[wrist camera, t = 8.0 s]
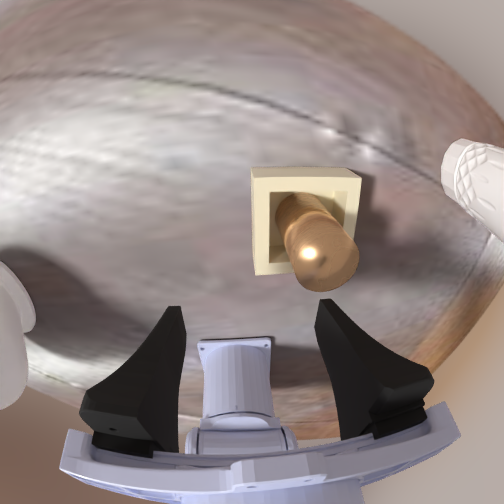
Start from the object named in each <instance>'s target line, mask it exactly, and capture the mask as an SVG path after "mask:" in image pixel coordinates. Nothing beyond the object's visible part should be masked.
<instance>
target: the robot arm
mask: <svg viewBox="0 0 504 504" xmlns="http://www.w3.org/2000/svg"><path fill="white" fill-rule="evenodd" d="M314 328H315V332H316V337H317V342H318V345H319V348H320V351H321V354H322V356H323V359H324V362H325V365H326V367H327V370H328V373H329V376H330V379H331V383H332V387H333V392H334V396H335V402H336V407H337V413H338V420H339V427H340V436H341V441H338V442H334V443H329V444H324V445H319V446H314V447H307V448H301V449H299V448H298V443H297V439H296V436H295V434H294V432H293V431H291V430H290V429H289V428H288V427H287V426H281V425H280V418H279V417H275V414H274V407H273V400H272V393H271V386H270V379H269V378H270V357H271V339H270V338H268V337H265V338H251V339H234V340H210V341H199V342H198V343H197V347H198V351H199V355H200V359H201V362H202V366H203V370H204V373H205V374H204V398H203V418H202V419H200V428H198V427H193V428H192V430H191V431H190V432H188V434H187V438H186V445H185V454H184V453H183V454H182V453H179V447H178V396H179V385H180V379H181V373H182V368H183V362H184V356H185V351H186V334H187V333H186V329H185V325H184V320H183V316H182V311H181V307H180V306H169V307H168V308H167V309H166V311H165V312H164V314H163V315H162V317H161V319H160V320H159V322H158V323H157V325H156V326H155V327H154V329H153V330H152V332H151V333H150V334H149V336H148V337H147V338H146V340H145V341H144V342H143V343H142V345H141V346H140V347H139V348H138V349H137V351H136V352H135V353H134V354H133V355H132V356H131V357H130V358H129V359H128V360H127V361H126V362H125V363H124V364H123V365H122V366H121V367H120V368H118V369H117V370H116V371H115V372H114V373H112V374H111V375H110V376H108V377H107V378H106V379H104V380H103V381H101V382H100V383H98V384H96V385H95V386H93V387H92V388H90V389H88V390H87V391H86V393H85V395H84V398H83V401H82V404H81V408H80V411H79V414H80V417H81V418H82V419H83V421H85V422H86V423H87V424H88V425H89V426H90V427H91V428H92V429H93V430H94V434H93V436H92V435H90V434H88V433H84V432H81V431H77V430H74V429H69V430H68V433H67V438H66V441H65V445H64V449H63V453H62V458H61V463H60V467H59V468H60V470H62V471H64V472H65V473H67V474H69V475H71V476H72V477H74V478H76V479H78V480H80V481H82V482H84V483H86V484H90V485H93V486H96V487H99V488H103V489H106V490H110V491H113V492H117V493H121V494H125V495H129V496H133V497H137V498H142V499H147V500H152V501H158V502H163V503H170V504H365V503H364V499H363V495H362V491H361V487H362V486H365V485H368V484H370V483H373V482H376V481H379V480H381V479H384V478H386V477H389V476H391V475H394V474H396V473H398V472H401V471H403V470H405V469H407V468H410V467H412V466H414V465H416V464H418V463H420V462H422V461H424V460H427V459H429V458H430V457H433V456H435V455H436V454H438V453H439V452H441V451H442V450H444V449H445V448H446V447H448V446H449V445H450V444H452V443H453V442H454V441H456V440H457V439H458V438H460V437H461V434H460V432H459V429H458V427H457V425H456V423H455V421H454V419H453V417H452V415H451V412H450V410H449V408H448V406H447V404H446V402H441V403H439V404H437V405H434V406H432V407H430V408H428V409H427V410H424V408H423V406H424V405H425V402H424V400H423V398H424V397H425V396H426V395H427V393H428V392H429V391H430V390H431V388H432V387H433V384H434V379H433V377H432V375H431V373H430V371H429V370H428V368H427V367H425V366H423V365H420V364H417V363H415V362H412V361H410V360H408V359H406V358H404V357H402V356H400V355H398V354H396V353H394V352H393V351H391V350H389V349H388V348H386V347H384V346H383V345H381V344H380V343H379V342H377V341H376V340H375V339H373V338H372V337H371V336H369V335H368V334H367V333H366V332H365V331H363V330H362V329H361V328H360V327H359V326H358V325H357V324H356V323H354V322H353V321H352V320H351V319H350V318H349V317H348V316H347V315H346V314H345V313H344V312H343V311H342V310H341V309H340V308H339V306H338V305H337V304H336V303H335V302H334V301H333V300H332V299H320V301H319V307H318V312H317V317H316V322H315V326H314ZM265 344H267V345H265Z"/></svg>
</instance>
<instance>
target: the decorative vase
mask: <svg viewBox="0 0 504 504" xmlns="http://www.w3.org/2000/svg"><path fill="white" fill-rule="evenodd" d="M35 322H36V313H35V309H34V306H33V303H32V300H31V298H30V296H29V294H28V293H27V291H26V289H25V288H24V286H23V285H22V283H21V282H20V280H19V279H18V278H17V276H16V275H15V274H14V273H13V272H12V271H11V270H10V269H9V268H8V267H7V266H6V265H5V264H4V263H3V262H1V261H0V410H1V409H4V408H6V407H8V406H9V405H11V404H12V403H14V402H15V401H16V400H17V399H18V398H19V397H20V395H21V394H22V392H23V390H24V388H25V386H26V383H27V379H28V360H27V353H26V347H25V341H24V335H23V333H26V332H29V331H31V330H32V328H33V327H34V325H35Z"/></svg>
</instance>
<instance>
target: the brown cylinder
mask: <svg viewBox="0 0 504 504" xmlns="http://www.w3.org/2000/svg"><path fill="white" fill-rule="evenodd" d="M275 222H276V225H277V228H278V230H279V233H280V236H281V238H282V241H283V243H284V246H285V249H286V251H287V254H288V256H289V259H290V262H291V264H292V267H293V270H294V272H295V275H296V278H297V280H298V282H299V283H300V284H301V285H302V286H303V287H305V288H306V289H308V290H311V291H315V292H326V291H330V290H333V289H336V288H338V287H340V286H342V285H343V284H344V283H346V282H347V281H348V280H349V279H350V278H351V277H352V276H353V274H354V273H355V271H356V269H357V267H358V263H359V250H358V247H357V245H356V244H355V242H354V241H353V240H352V239H351V237H350V236H349V235H348V234H347V233H346V231H345V230H344V229H343V228H342V226H341V225H340V224H339V223H338V222H337V220H336V219H335V218H334V217H333V216H332V214H331V213H330V212H329V211H328V210H327V209H326V207H325V206H324V205H323V204H322V203H321V202H320V201H319V199H318V198H316V197H315V196H314V195H312V194H309V193H305V192H298V193H294V194H291V195H289V196H287V197H286V198H285V199H283V200H282V201H281V203H280V204H279V205H278V207H277V210H276V213H275Z"/></svg>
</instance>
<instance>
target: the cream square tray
mask: <svg viewBox="0 0 504 504" xmlns="http://www.w3.org/2000/svg"><path fill="white" fill-rule="evenodd" d="M361 180H362V178H361V177H359V176H358V175H356V174H355V173H353V172H352V171H350V170H348V169H347V168H336V167H253V168H251V203H252V247H253V261H254V267H255V274H256V275H268V274H284V273H295V272H294V270H293V267H292V264H291V262H290V259H289V256H288V254H287V251H286V249H285V246H284V243H283V241H282V238H281V236H280V233H279V230H278V228H277V225H276V222H275V213H276V210H277V207H278V205H279V204H280V203H281V201H282V200H283V199H285V198H286V197H287V196H289V195H291V194H294V193H298V192H305V193H309V194H312V195H314V196H315V197H316V198H318V199H319V201H320V202H321V203H322V204H323V205H324V206H325V207H326V209H327V210H328V211H329V212H330V213H331V214H332V216H333V217H334V218H335V219H336V220H337V222H338V223H339V224H340V225H341V226H342V228H343V229H344V230H345V231H346V233H347V234H348V235H349V236H350V237H351V239H352V240H353V239H354V233H355V226H356V220H357V213H358V205H359V198H360V189H361Z"/></svg>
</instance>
